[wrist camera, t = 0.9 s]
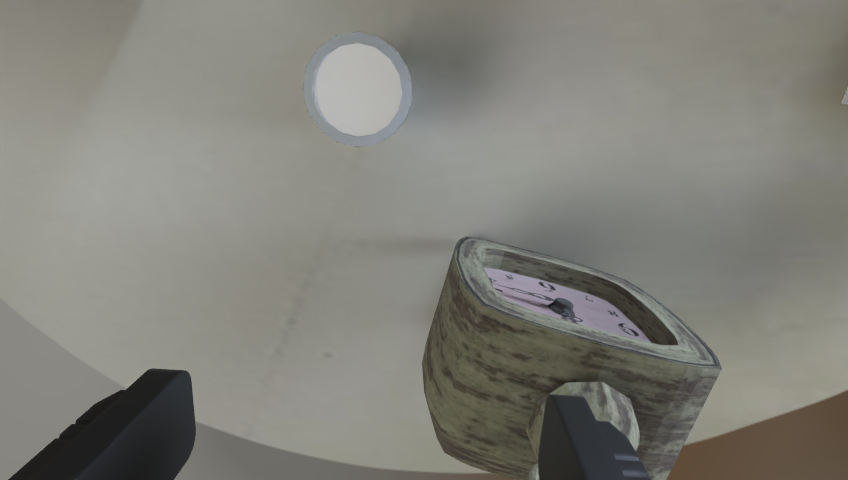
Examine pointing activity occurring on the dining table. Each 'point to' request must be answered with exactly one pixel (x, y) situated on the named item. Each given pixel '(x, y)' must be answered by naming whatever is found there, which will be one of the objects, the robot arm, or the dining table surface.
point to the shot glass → (357, 89)
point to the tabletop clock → (555, 359)
